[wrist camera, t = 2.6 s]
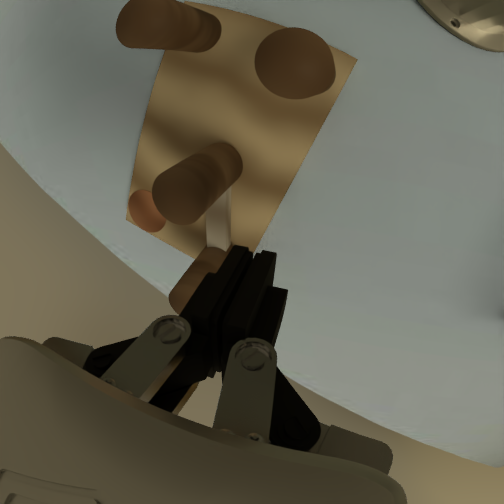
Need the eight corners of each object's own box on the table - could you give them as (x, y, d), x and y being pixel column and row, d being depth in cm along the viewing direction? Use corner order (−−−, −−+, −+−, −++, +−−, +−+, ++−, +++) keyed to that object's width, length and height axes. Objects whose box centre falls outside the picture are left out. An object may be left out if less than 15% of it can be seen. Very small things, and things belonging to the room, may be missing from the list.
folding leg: (239, 275, 28) (211, 327, 22) (205, 266, 28) (172, 315, 23) (243, 144, 20) (202, 172, 15) (200, 140, 21) (149, 167, 16)
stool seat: (196, 5, 16) (123, -18, 9) (356, 61, 16) (368, 44, 9) (136, 211, 30) (80, 257, 23) (243, 270, 30) (208, 337, 23)
